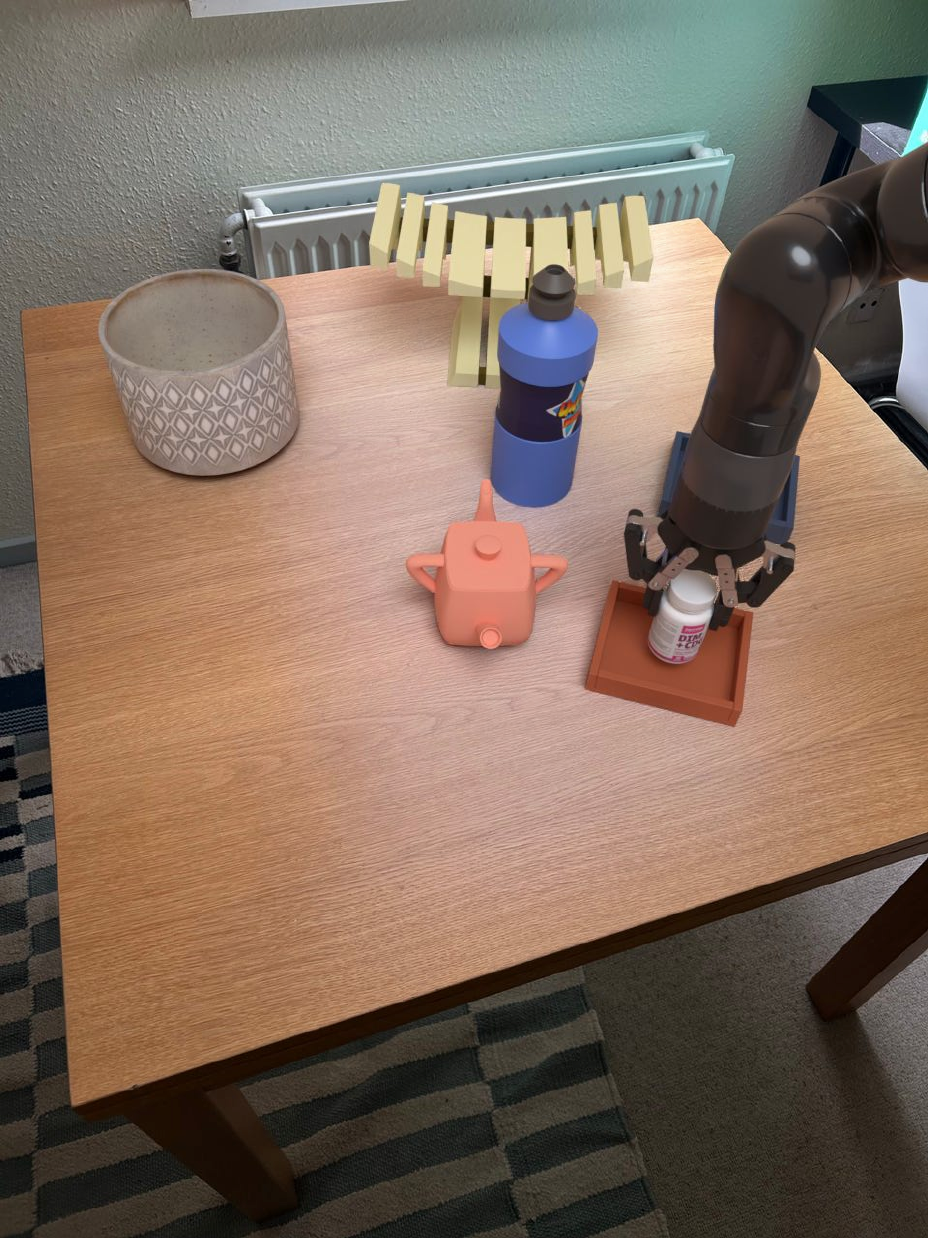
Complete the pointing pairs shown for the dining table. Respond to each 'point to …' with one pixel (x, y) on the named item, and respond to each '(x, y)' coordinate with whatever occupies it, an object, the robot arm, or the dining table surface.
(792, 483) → the blue tray
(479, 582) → the teapot
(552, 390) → the water bottle
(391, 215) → the slatted curved stool
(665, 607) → the pill bottle
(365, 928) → the dining table surface
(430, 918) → the dining table surface
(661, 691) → the terracotta tray
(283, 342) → the planter
